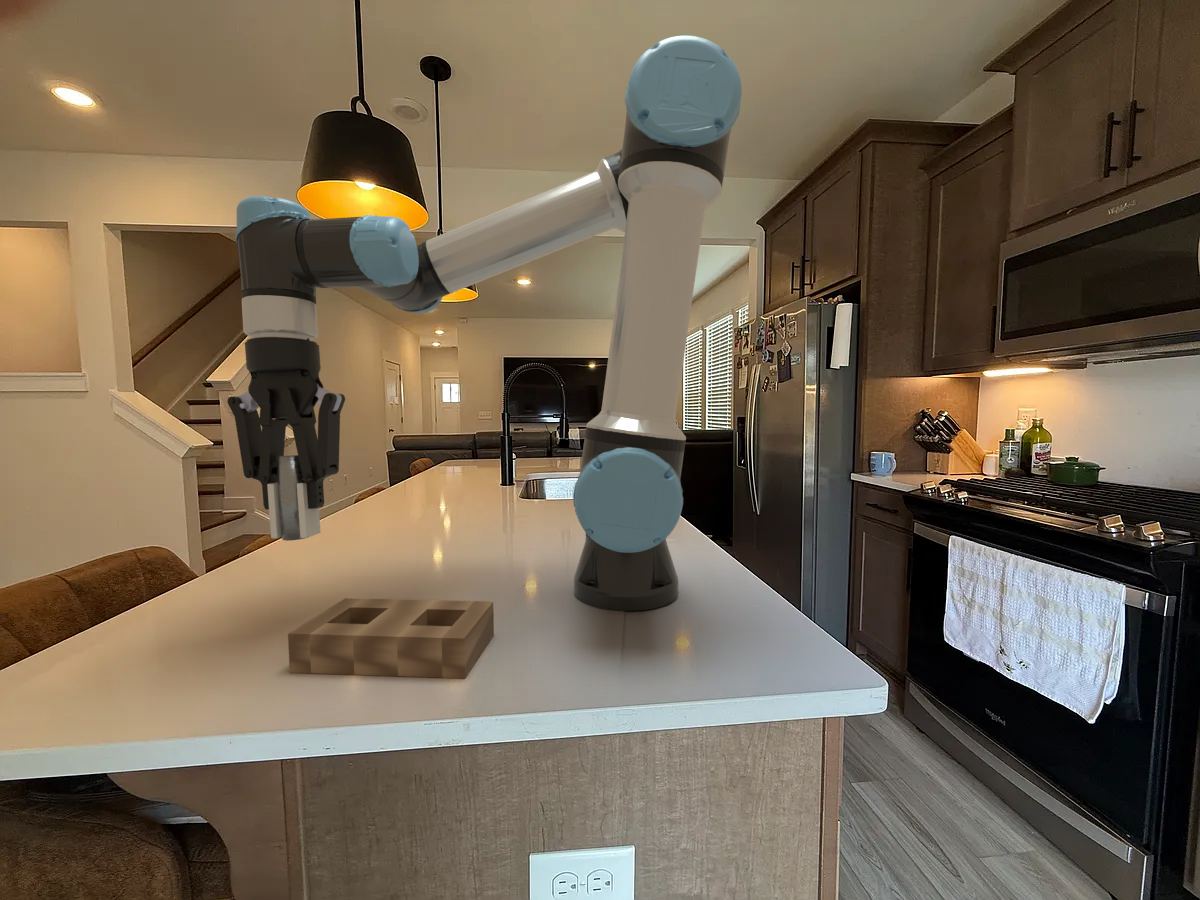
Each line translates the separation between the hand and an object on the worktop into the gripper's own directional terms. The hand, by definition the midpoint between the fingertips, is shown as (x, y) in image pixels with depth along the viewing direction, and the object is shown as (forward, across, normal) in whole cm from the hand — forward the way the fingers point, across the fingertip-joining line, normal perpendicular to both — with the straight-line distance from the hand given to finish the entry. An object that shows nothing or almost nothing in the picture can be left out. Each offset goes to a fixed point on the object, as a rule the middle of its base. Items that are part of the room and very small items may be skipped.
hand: (296, 535), depth 62 cm
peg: (0, 0, 0) cm, 0 cm away
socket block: (+12, -15, +6) cm, 20 cm away
